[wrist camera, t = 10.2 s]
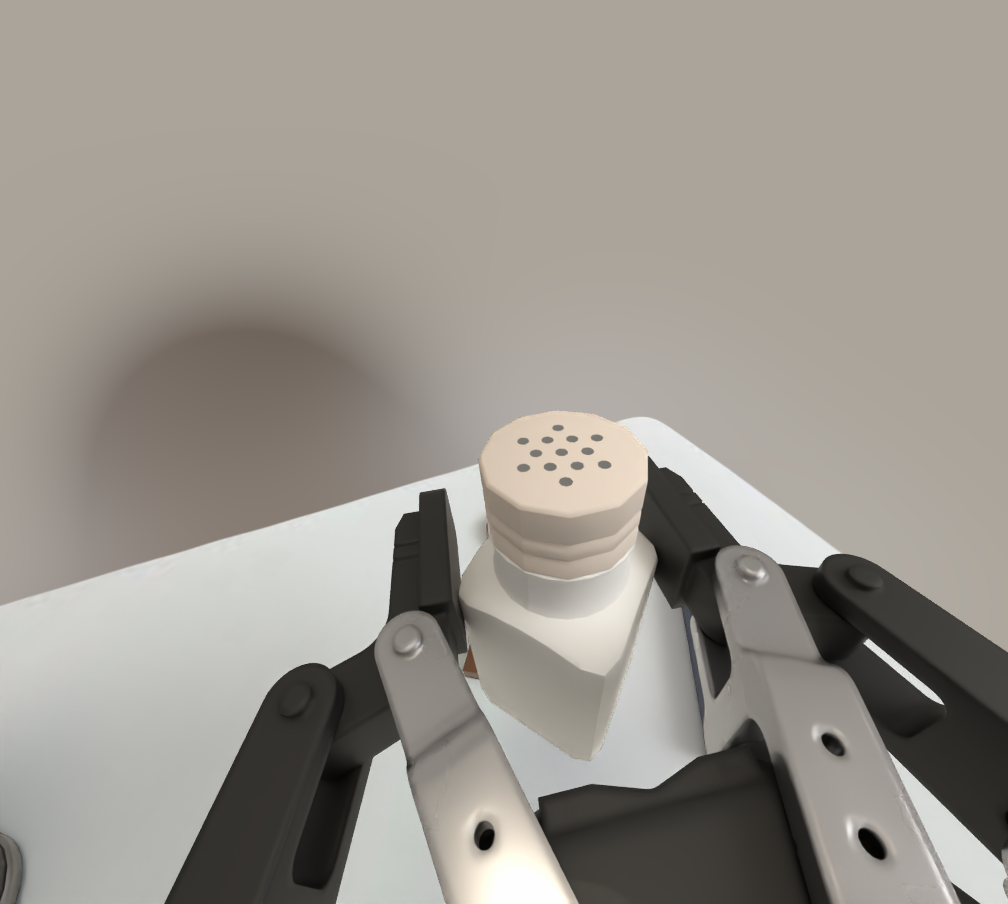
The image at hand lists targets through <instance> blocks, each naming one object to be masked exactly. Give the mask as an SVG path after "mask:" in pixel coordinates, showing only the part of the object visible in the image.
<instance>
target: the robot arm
mask: <svg viewBox="0 0 1008 904" xmlns="http://www.w3.org/2000/svg"><path fill="white" fill-rule="evenodd" d="M638 531H640V532H641V533H642V534H643V535H644V536H645V537H646V538H647V539H648V540H649V541H650V542H651V543H652V544H653V545H654V548H655V551H656V554H657V557H658V562H657V566H656V570H655V573H654V578H655V580H656V582H657V584H658V585H659V587H660V589H661V591H662V592H663V594H664V596H665V598H666V599H667V601H668V603H669V605H670V606H671V608H672V609H674V608H678V607H683V606H687V607H688V609H689V610H690V612H691V614H692V617H691V621H690V627H691V633H692V638H693V643H694V649H695V654H696V659H697V664H698V670H699V675H700V680H701V685H702V691H703V696H704V704H705V714H704V741H705V748H706V753H707V755H704V756H700V757H697V758H696V759H695V760H693V761H692V762H690V763H689V764H688V765H686V766H685V767H684V768H682V769H681V770H679V771H678V772H677V773H675V774H674V775H673V776H671V777H670V778H668V779H667V780H666V781H664V782H663V783H661V784H660V785H659V786H657V787H655V788H653V789H639V788H628V787H617V786H607V785H596V784H590V785H586V786H582V787H578V788H574V789H570V790H566V791H562V792H559V793H555V794H551V795H547V796H543V797H539V798H538V801H539V810H537V811H536V812H535V813H534V812H533V810H532V808H531V806H530V804H529V802H528V800H527V798H526V796H525V794H524V792H523V790H522V788H521V786H520V784H519V782H518V780H517V778H516V776H515V774H514V772H513V770H512V768H511V766H510V764H509V762H508V760H507V758H506V756H505V754H504V752H503V750H502V748H501V746H500V744H499V742H498V740H497V737H496V735H495V733H494V731H493V729H492V728H491V726H490V724H489V722H488V720H487V718H486V716H485V715H484V713H483V712H482V711H481V709H480V708H479V706H478V704H477V702H476V700H475V698H474V696H473V694H472V692H471V690H470V688H469V686H468V683H467V681H466V679H465V677H464V675H463V673H462V671H461V669H460V667H459V663H458V654H461V653H466V652H467V642H466V632H465V621H464V616H463V613H462V609H461V605H460V601H459V596H458V594H459V589H460V584H461V578H460V568H459V557H458V546H457V538H456V532H455V526H454V522H453V517H452V513H451V509H450V505H449V500H448V496H447V492H446V489H445V488H443V489H438V490H432V491H426V492H421V493H420V495H419V511H418V512H412V513H407V514H404V515H403V516H402V518H401V520H400V522H399V524H398V525H397V527H396V529H395V540H394V553H393V566H392V578H391V591H390V604H389V614H388V619H387V622H386V625H385V626H384V627H383V629H382V630H381V632H380V633H379V635H378V637H377V639H376V640H375V641H374V642H373V643H372V644H371V645H370V646H369V647H367V648H366V649H365V650H363V651H362V652H360V653H358V654H357V655H355V656H353V657H351V658H349V659H347V660H346V661H344V662H342V663H340V664H338V665H336V666H335V667H333V668H331V669H329V668H328V667H326V666H325V665H322V664H318V663H309V664H305V665H301V666H299V667H296V668H294V669H293V670H291V671H289V672H288V673H286V674H285V675H284V676H283V677H281V678H280V679H279V680H278V681H277V682H276V683H275V684H274V686H273V687H272V688H271V689H270V691H269V692H268V694H267V695H266V697H265V699H264V701H263V703H262V705H261V707H260V709H259V711H258V713H257V715H256V717H255V719H254V721H253V723H252V725H251V727H250V729H249V731H248V733H247V735H246V737H245V740H244V742H243V744H242V746H241V748H240V750H239V752H238V754H237V756H236V758H235V760H234V762H233V764H232V766H231V768H230V770H229V772H228V774H227V776H226V778H225V780H224V783H223V785H222V787H221V789H220V791H219V793H218V795H217V797H216V799H215V801H214V803H213V805H212V807H211V809H210V811H209V813H208V815H207V817H206V819H205V821H204V824H203V826H202V828H201V830H200V832H199V834H198V836H197V838H196V840H195V842H194V844H193V846H192V848H191V850H190V852H189V854H188V856H187V858H186V860H185V862H184V864H183V867H182V869H181V871H180V873H179V875H178V877H177V879H176V881H175V883H174V885H173V887H172V889H171V891H170V893H169V895H168V897H167V899H166V901H165V903H164V904H336V900H337V896H338V892H339V888H340V884H341V880H342V876H343V872H344V868H345V864H346V861H347V857H348V853H349V849H350V845H351V841H352V837H353V833H354V829H355V825H356V822H357V818H358V814H359V810H360V806H361V802H362V798H363V794H364V790H365V786H366V783H367V779H368V775H369V771H370V767H371V763H372V759H373V757H374V756H376V755H377V754H379V753H380V752H382V751H383V750H385V749H386V748H388V747H389V746H391V745H392V744H394V743H395V742H397V741H399V740H400V739H401V743H402V746H403V749H404V752H405V756H406V760H407V775H408V780H409V784H410V788H411V791H412V795H413V798H414V801H415V805H416V808H417V811H418V814H419V818H420V821H421V824H422V827H423V831H424V834H425V837H426V840H427V844H428V847H429V850H430V853H431V857H432V860H433V863H434V866H435V870H436V873H437V876H438V880H439V883H440V886H441V889H442V893H443V896H444V899H445V902H446V904H980V903H979V902H977V901H976V900H975V899H973V898H972V897H971V896H969V895H968V894H967V893H965V892H964V891H962V890H961V889H960V888H958V887H957V886H956V885H954V884H953V883H952V882H950V880H949V878H948V876H947V874H946V871H945V869H944V867H943V865H942V863H941V861H940V859H939V857H938V855H937V853H936V851H935V849H934V847H933V844H932V842H931V840H930V838H929V836H928V834H927V832H926V830H925V828H924V826H923V824H922V822H921V820H920V818H919V815H918V813H917V811H916V809H915V807H914V805H913V803H912V801H911V799H910V797H909V795H908V793H907V791H906V789H905V786H904V784H903V782H902V780H901V778H900V776H899V774H898V772H897V770H896V768H895V766H894V764H893V762H892V759H891V757H890V755H889V753H888V751H889V752H890V753H891V754H892V755H893V756H894V757H895V758H896V759H897V760H898V761H899V762H900V763H901V764H902V765H903V766H904V767H905V768H906V769H907V770H908V771H909V772H910V773H911V774H912V775H913V776H914V777H915V778H916V779H917V780H918V781H919V782H920V783H921V784H922V785H923V786H924V787H925V788H926V789H928V790H929V791H930V792H931V793H932V794H933V795H934V796H935V797H936V798H937V799H938V800H939V801H940V802H941V803H942V804H943V805H944V806H945V807H946V808H947V809H948V810H949V811H950V812H951V813H952V814H953V815H954V816H955V817H956V818H957V819H958V820H959V821H960V822H961V823H962V824H963V825H964V826H965V827H966V828H967V829H968V830H969V831H970V832H971V833H972V834H973V835H974V836H975V837H976V838H977V839H978V840H979V841H980V842H981V843H982V844H983V845H984V846H985V847H986V848H987V849H988V850H989V851H990V852H991V853H992V854H993V855H994V856H995V857H996V858H997V859H998V860H999V861H1000V862H1002V863H1003V865H1004V868H1005V871H1006V873H1007V876H1008V652H1006V651H1005V650H1003V649H1002V648H1000V647H999V646H997V645H996V644H994V643H993V642H991V641H990V640H988V639H987V638H985V637H984V636H982V635H981V634H979V633H978V632H976V631H975V630H974V629H972V628H971V627H969V626H968V625H966V624H965V623H963V622H962V621H960V620H959V619H957V618H956V617H954V616H953V615H951V614H950V613H948V612H947V611H945V610H944V609H942V608H941V607H939V606H938V605H936V604H935V603H934V602H932V601H931V600H929V599H928V598H926V597H925V596H923V595H922V594H920V593H919V592H917V591H916V590H914V589H912V588H911V587H910V586H908V585H907V584H905V583H904V582H902V581H901V580H899V579H898V578H896V577H895V576H893V575H892V574H890V573H889V572H887V571H886V570H885V569H883V568H881V567H880V566H878V565H877V564H874V563H873V562H871V561H868V560H866V559H864V558H861V557H857V556H853V555H849V554H834V555H831V556H828V557H827V558H825V560H824V561H823V563H822V564H821V565H820V567H819V568H814V567H803V566H791V565H782V564H777V563H776V562H775V561H774V560H773V559H772V558H771V557H769V556H768V555H766V554H765V553H763V552H761V551H759V550H756V549H754V548H751V547H747V546H741V545H740V544H739V543H738V542H737V541H736V540H735V539H734V537H733V536H732V535H731V534H730V533H729V532H728V530H727V529H726V528H725V527H724V526H723V525H722V523H721V522H720V521H719V520H718V519H717V518H716V516H715V515H714V514H713V513H712V512H711V511H710V509H709V508H708V507H707V506H706V505H705V504H704V503H702V500H701V499H700V498H699V497H698V495H697V494H696V493H693V490H692V488H691V487H690V486H689V485H688V484H687V483H686V481H685V480H684V479H683V478H682V477H681V476H679V475H677V474H676V473H674V472H673V471H671V470H669V469H668V468H666V467H665V468H658V467H657V466H656V464H655V463H654V462H653V461H652V459H651V458H650V457H649V456H648V482H647V487H646V492H645V497H644V502H643V507H642V509H641V517H640V522H639V525H638ZM868 638H869V639H870V640H871V641H872V642H874V643H875V644H876V645H877V646H878V647H880V648H881V649H882V650H883V651H885V652H886V653H887V654H888V655H889V656H891V657H892V658H893V659H894V660H896V661H897V662H898V663H899V664H900V665H902V666H903V667H904V668H905V669H907V670H908V671H909V672H910V673H911V674H913V675H914V676H915V677H916V678H918V679H919V680H920V681H921V682H922V683H924V684H925V685H926V686H927V687H929V688H930V689H931V690H932V691H933V692H934V693H936V695H937V696H938V697H939V698H940V699H941V700H942V702H943V703H944V705H942V704H939V703H937V702H935V701H933V700H931V699H930V698H928V697H927V696H925V695H924V694H923V693H922V692H921V691H919V690H918V689H917V688H916V687H915V686H913V685H912V684H911V683H910V682H909V681H907V680H906V679H905V678H904V677H903V676H901V675H900V674H899V673H898V672H897V671H895V670H894V669H893V668H892V667H891V666H889V665H888V664H887V663H886V662H885V661H883V660H882V659H881V658H880V657H879V656H877V655H876V654H875V653H874V652H873V651H871V650H870V649H869V648H868V647H867V646H866V645H864V644H863V643H864V642H865V641H866V640H867V639H868ZM887 750H888V751H887ZM21 874H22V861H21V855H20V852H19V849H18V847H17V845H16V844H15V842H14V841H13V840H12V839H11V838H9V837H7V836H6V835H3V834H0V904H15V902H16V899H17V896H18V891H19V887H20V882H21ZM1003 887H1004V891H1005V894H1006V896H1007V898H1008V877H1007V878H1005V879H1004V882H1003Z"/></svg>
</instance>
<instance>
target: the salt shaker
mask: <svg viewBox="0 0 1008 904" xmlns="http://www.w3.org/2000/svg"><path fill="white" fill-rule="evenodd" d="M478 462H479V468H480V475H481V481H482V486H483V494H484V500H485V508H486V514H487V522H488V534H489V537H488V538H487V539H486V541H485V542H484V543H483V545H482V546H481V547H480V549H479V550H478V551H477V553H476V555H475V556H474V558H473V559H472V561H471V562H470V564H469V565H468V567H467V569H466V570H465V572H464V573H463V575H462V579H461V584H460V589H459V594H458V596H459V601H460V605H461V609H462V613H463V616H464V621H465V627H466V631H467V635H468V638H469V642H470V646H471V649H472V653H473V657H474V661H475V664H476V668H477V672H478V675H479V679H480V683H481V687H482V689H483V691H484V692H485V694H486V696H487V697H488V699H489V701H490V702H492V703H493V704H495V705H496V706H498V707H499V708H500V709H502V710H503V711H505V712H506V713H508V714H509V715H511V716H512V717H514V718H515V719H516V720H518V721H519V722H521V723H522V724H524V725H525V726H527V727H528V728H530V729H531V730H532V731H534V732H535V733H537V734H538V735H540V736H541V737H543V738H544V739H545V740H547V741H548V742H550V743H551V744H553V745H554V746H556V747H557V748H559V749H560V750H561V751H563V752H564V753H566V754H567V755H569V756H570V757H572V758H574V759H580V760H585V761H590V760H591V759H592V758H593V757H594V756H595V755H596V754H597V753H598V752H599V751H600V750H601V748H602V745H603V742H604V739H605V737H606V734H607V731H608V728H609V725H610V722H611V719H612V716H613V713H614V710H615V707H616V704H617V701H618V698H619V695H620V692H621V689H622V686H623V683H624V680H625V678H626V675H627V672H628V669H629V666H630V663H631V660H632V656H633V652H634V648H635V645H636V641H637V637H638V633H639V630H640V626H641V622H642V618H643V615H644V611H645V607H646V603H647V600H648V596H649V592H650V588H651V585H652V581H653V577H654V573H655V570H656V566H657V562H658V557H657V554H656V551H655V548H654V545H653V544H652V543H651V542H650V541H649V540H648V539H647V538H646V537H645V536H644V535H643V534H642V533H641V532H640V531H638V525H639V522H640V517H641V509H642V507H643V502H644V497H645V492H646V487H647V482H648V451H647V450H646V448H645V447H644V446H643V445H642V444H641V443H640V442H639V441H638V440H637V439H636V438H635V437H634V435H633V434H632V433H631V432H630V431H629V430H628V429H627V428H626V427H624V426H622V425H619V424H617V423H614V422H612V421H609V420H607V419H604V418H602V417H599V416H597V415H594V414H589V413H576V412H566V411H551V412H546V413H540V414H535V415H530V416H525V417H520V418H518V419H516V420H515V421H513V422H511V423H510V424H508V425H506V426H504V427H503V428H501V429H499V430H497V431H496V432H494V433H492V435H491V437H490V439H489V440H488V442H487V444H486V446H485V448H484V449H483V451H482V453H481V455H480V456H479V458H478Z"/></svg>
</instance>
